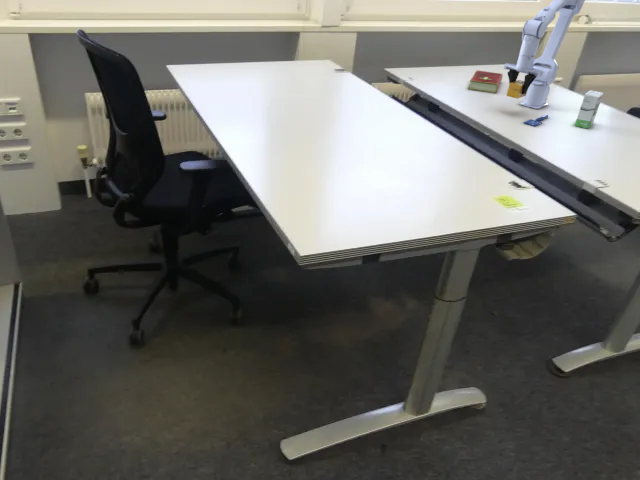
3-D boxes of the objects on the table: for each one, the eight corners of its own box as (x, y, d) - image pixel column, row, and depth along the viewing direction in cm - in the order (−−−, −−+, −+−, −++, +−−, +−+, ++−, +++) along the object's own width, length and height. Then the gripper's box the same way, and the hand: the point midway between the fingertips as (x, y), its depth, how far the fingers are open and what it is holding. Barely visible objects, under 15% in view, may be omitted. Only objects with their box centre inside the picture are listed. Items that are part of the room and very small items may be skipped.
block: (515, 92, 216) (518, 79, 213) (526, 95, 213) (529, 82, 210) (506, 95, 212) (509, 82, 209) (517, 98, 209) (521, 85, 206)
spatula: (541, 115, 215) (542, 112, 215) (552, 118, 213) (553, 115, 212) (523, 123, 207) (524, 120, 206) (534, 126, 204) (535, 123, 203)
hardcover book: (501, 82, 256) (503, 73, 254) (496, 93, 240) (498, 83, 238) (474, 78, 260) (476, 69, 258) (468, 89, 244) (470, 79, 242)
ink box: (587, 129, 204) (599, 97, 197) (573, 125, 206) (584, 94, 200) (593, 123, 210) (604, 92, 203) (579, 120, 212) (590, 89, 206)
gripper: (503, 52, 206) (494, 89, 214) (541, 60, 198) (530, 98, 205) (513, 50, 210) (503, 86, 218) (550, 57, 202) (539, 95, 209)
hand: (517, 92), depth 212 cm, fingers closed on block, 4 cm apart
